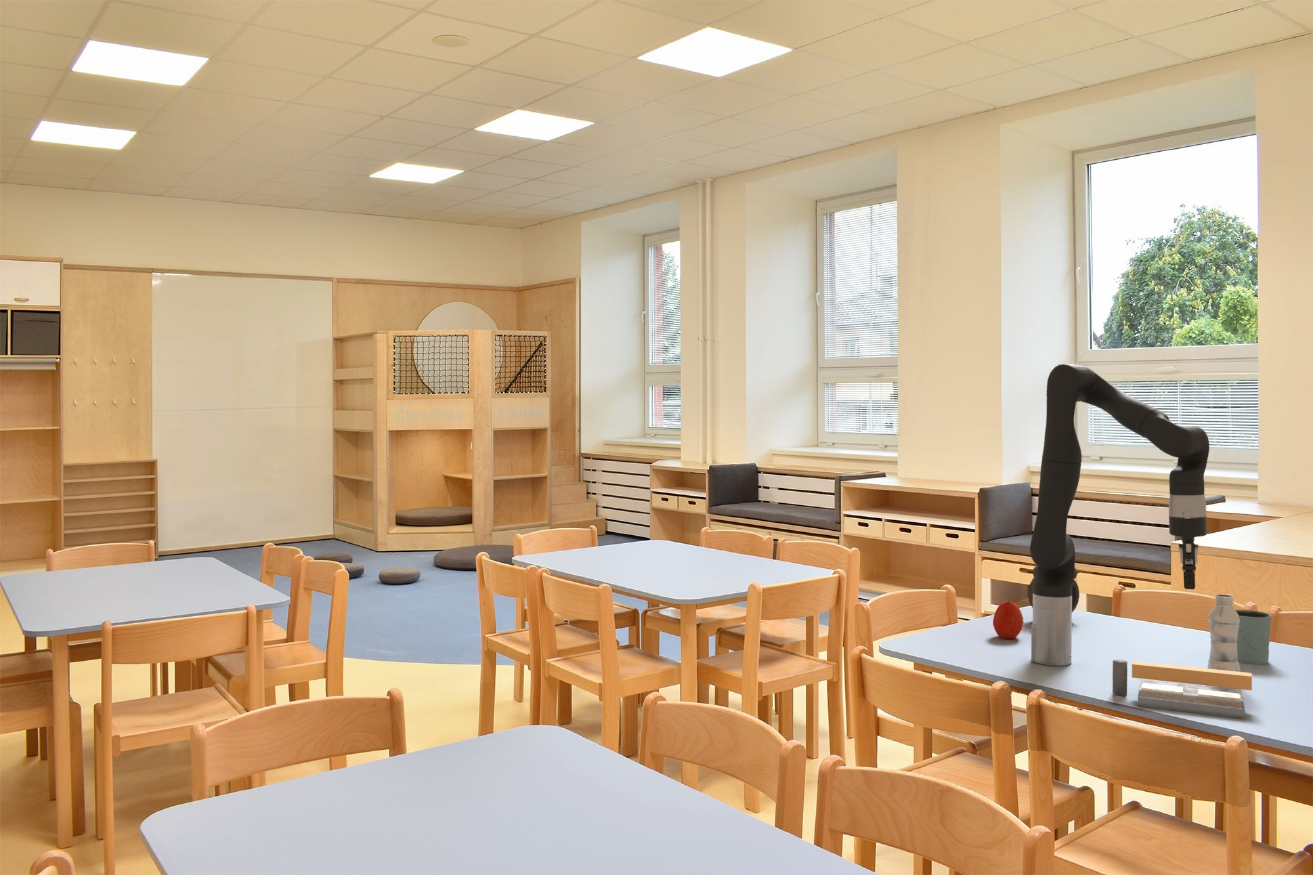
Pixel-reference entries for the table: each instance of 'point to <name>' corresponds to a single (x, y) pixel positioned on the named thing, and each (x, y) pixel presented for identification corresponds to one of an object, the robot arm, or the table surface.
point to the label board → (1191, 698)
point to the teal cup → (1253, 637)
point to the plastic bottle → (1223, 634)
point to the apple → (1008, 620)
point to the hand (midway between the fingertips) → (1189, 585)
